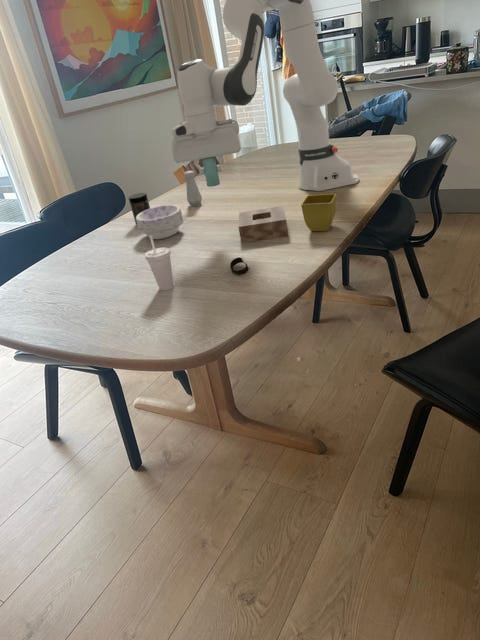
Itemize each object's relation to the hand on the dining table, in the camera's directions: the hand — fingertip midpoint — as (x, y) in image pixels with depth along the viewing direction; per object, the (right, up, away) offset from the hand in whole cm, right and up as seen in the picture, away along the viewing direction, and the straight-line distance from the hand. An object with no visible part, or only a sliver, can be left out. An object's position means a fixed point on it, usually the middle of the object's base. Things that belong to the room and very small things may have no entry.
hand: (211, 172), depth 142 cm
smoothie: (-10, -36, -22) cm, 43 cm away
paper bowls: (-17, -16, +18) cm, 29 cm away
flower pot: (+33, -18, -3) cm, 37 cm away
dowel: (+1, -3, +2) cm, 4 cm away
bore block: (+16, -17, +3) cm, 24 cm away
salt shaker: (-9, +1, +44) cm, 45 cm away
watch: (+9, -32, -20) cm, 39 cm away
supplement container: (-27, -9, +33) cm, 43 cm away
